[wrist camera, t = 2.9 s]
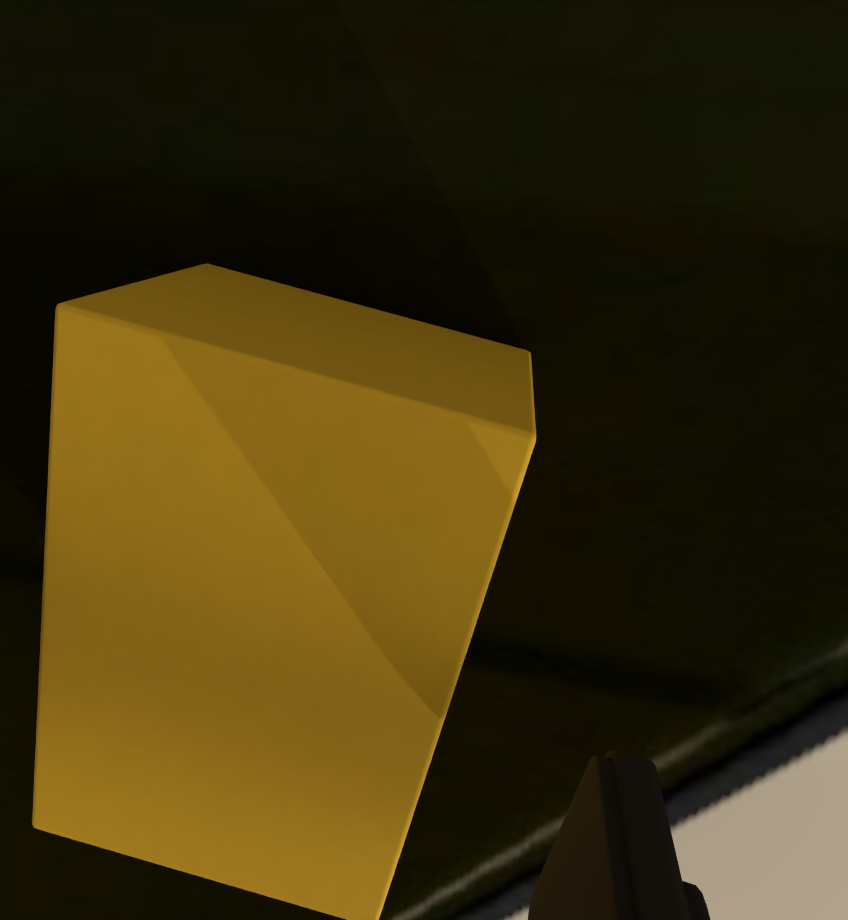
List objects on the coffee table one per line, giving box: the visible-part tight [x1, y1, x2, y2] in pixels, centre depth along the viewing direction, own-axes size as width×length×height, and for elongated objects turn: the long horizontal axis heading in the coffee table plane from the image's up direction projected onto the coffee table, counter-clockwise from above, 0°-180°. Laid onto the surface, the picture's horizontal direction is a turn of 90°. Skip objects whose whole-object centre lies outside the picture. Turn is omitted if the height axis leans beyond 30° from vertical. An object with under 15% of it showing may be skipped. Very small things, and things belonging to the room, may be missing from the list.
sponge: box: [32, 264, 536, 920], centre depth 12 cm, size 9×6×4 cm, turn 166°
